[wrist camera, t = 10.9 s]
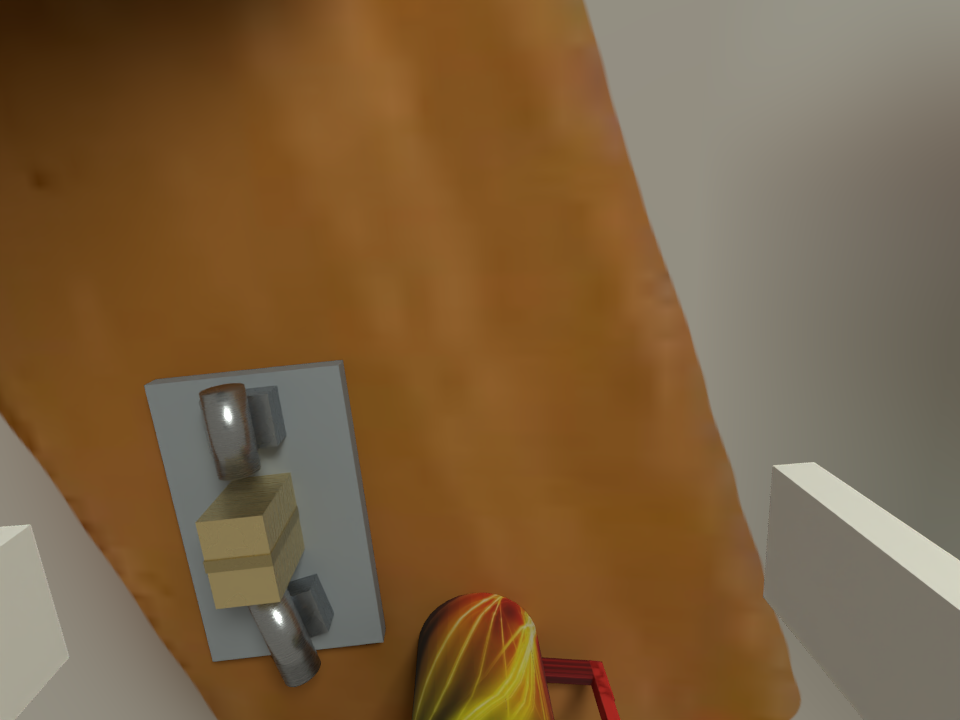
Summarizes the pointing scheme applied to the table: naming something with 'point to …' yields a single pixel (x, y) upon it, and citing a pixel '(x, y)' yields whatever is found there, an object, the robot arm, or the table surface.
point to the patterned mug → (493, 665)
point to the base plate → (317, 487)
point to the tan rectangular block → (251, 540)
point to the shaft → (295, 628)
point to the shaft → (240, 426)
